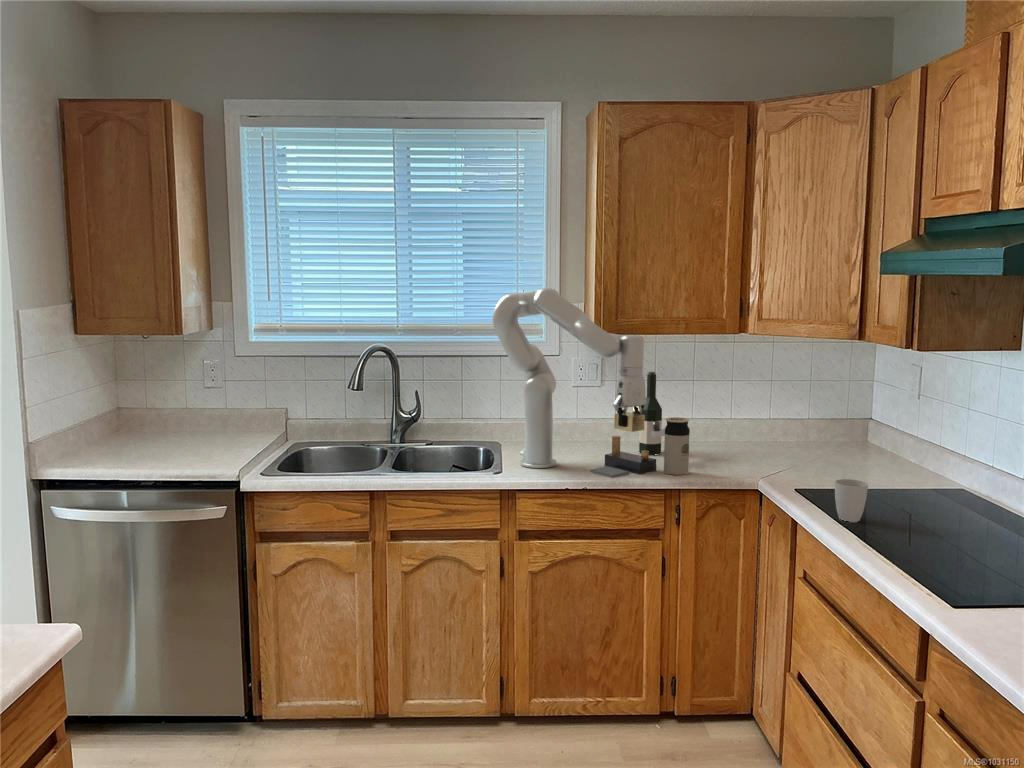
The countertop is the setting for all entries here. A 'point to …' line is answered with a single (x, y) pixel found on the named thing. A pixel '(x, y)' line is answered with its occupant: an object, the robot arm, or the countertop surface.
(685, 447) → the travel mug
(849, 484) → the cup
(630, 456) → the dark slate base plate
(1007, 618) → the countertop surface
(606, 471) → the rubber mat
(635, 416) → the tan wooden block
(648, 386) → the wine bottle
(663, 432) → the bar
